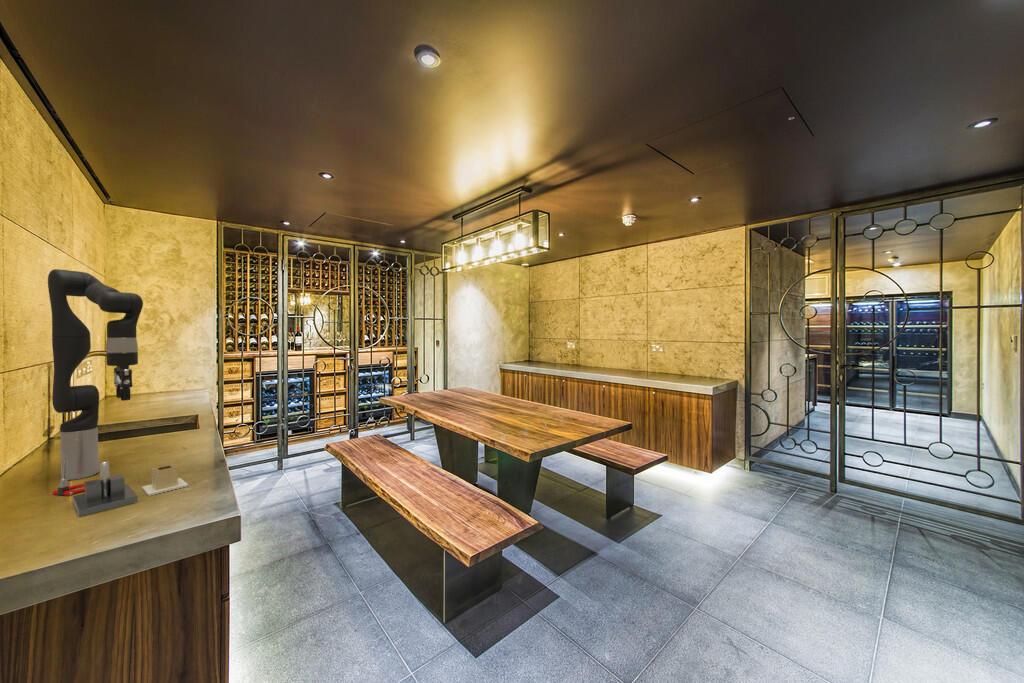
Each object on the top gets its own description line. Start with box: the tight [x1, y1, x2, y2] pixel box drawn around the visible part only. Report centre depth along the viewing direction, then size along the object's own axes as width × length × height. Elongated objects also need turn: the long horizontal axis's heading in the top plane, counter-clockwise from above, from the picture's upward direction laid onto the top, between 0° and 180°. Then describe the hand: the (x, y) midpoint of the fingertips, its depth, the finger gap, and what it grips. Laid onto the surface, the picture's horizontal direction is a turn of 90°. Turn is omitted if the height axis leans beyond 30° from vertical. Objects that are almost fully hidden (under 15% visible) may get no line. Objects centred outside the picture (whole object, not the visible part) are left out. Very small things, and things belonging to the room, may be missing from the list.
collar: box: [151, 463, 179, 490], centre depth 130 cm, size 6×6×6 cm
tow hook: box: [51, 455, 85, 497], centre depth 129 cm, size 8×13×9 cm
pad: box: [141, 477, 189, 497], centre depth 130 cm, size 10×10×1 cm
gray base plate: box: [72, 460, 138, 518], centre depth 119 cm, size 16×12×12 cm
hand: (123, 398), depth 130 cm, fingers open, 8 cm apart
